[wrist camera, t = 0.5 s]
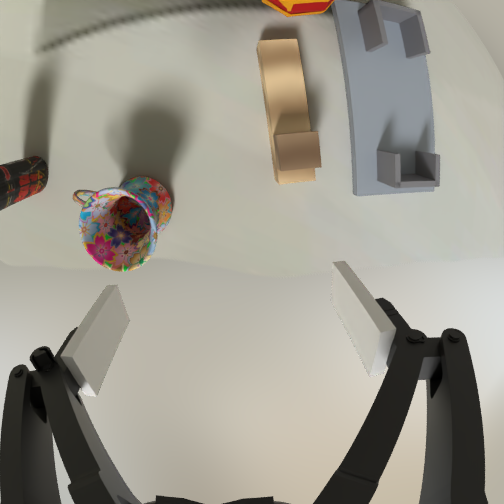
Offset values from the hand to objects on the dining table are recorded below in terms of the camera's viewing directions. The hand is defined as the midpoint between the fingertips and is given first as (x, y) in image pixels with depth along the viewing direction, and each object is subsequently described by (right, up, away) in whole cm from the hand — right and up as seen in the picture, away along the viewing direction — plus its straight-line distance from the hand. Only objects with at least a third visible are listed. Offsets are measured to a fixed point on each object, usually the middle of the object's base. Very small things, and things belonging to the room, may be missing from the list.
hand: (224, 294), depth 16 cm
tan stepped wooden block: (+6, +21, +17) cm, 27 cm away
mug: (-14, +10, +20) cm, 26 cm away
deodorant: (-32, +15, +17) cm, 39 cm away
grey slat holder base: (+21, +25, +15) cm, 36 cm away
